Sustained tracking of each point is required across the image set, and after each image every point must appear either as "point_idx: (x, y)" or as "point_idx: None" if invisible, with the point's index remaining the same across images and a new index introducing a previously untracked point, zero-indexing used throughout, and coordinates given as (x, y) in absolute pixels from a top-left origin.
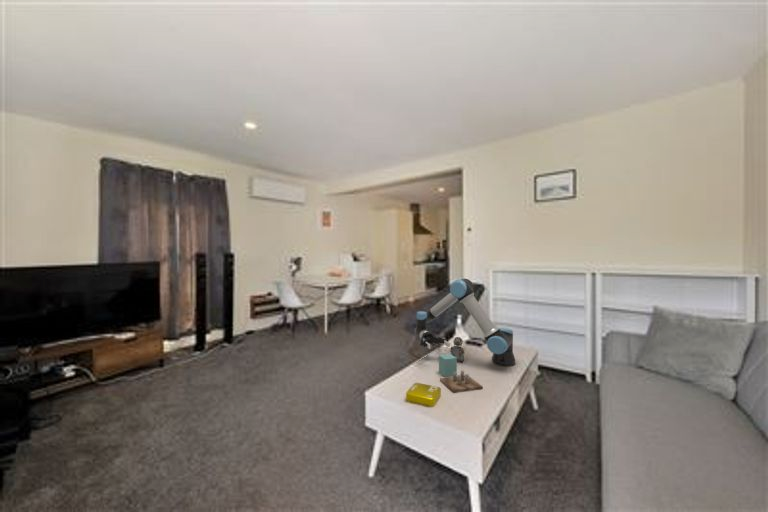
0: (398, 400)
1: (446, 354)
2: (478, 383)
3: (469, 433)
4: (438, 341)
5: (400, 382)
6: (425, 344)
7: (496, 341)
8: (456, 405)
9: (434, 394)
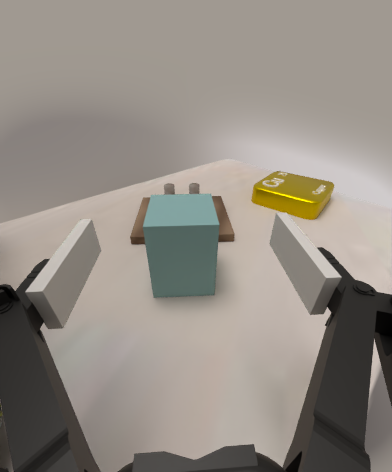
0: (345, 200)
1: (172, 223)
2: (141, 205)
3: (236, 160)
4: (71, 412)
5: (373, 252)
6: (329, 254)
7: None
8: (230, 182)
9: (271, 176)
